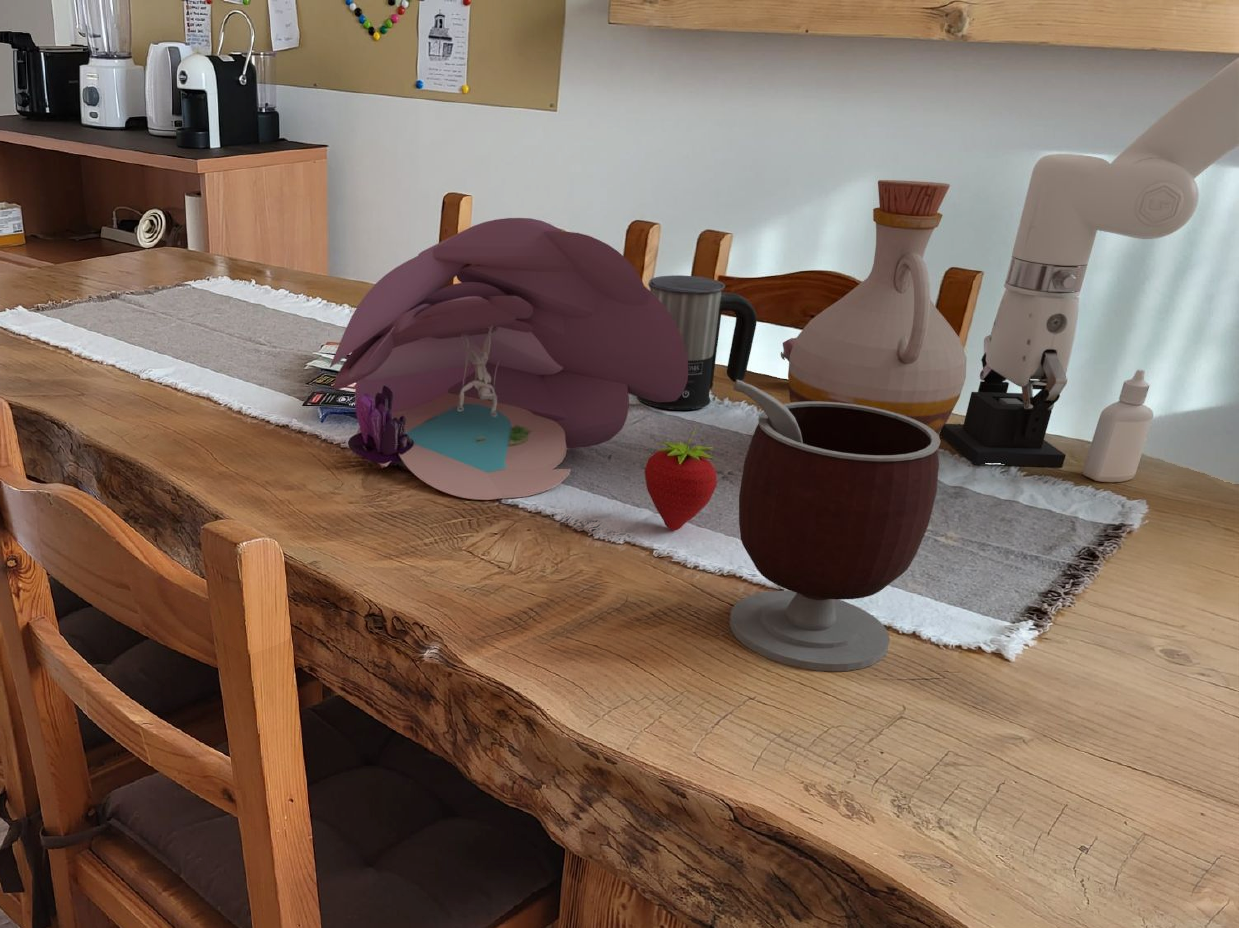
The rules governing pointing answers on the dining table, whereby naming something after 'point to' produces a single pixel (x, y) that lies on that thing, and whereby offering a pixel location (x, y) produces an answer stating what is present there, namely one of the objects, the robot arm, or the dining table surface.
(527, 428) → the purple rock cave
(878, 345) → the jug
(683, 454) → the strawberry
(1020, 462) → the base pad
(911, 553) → the mate gourd
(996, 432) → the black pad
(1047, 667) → the dining table surface
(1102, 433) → the eye dropper bottle
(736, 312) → the milk frother
